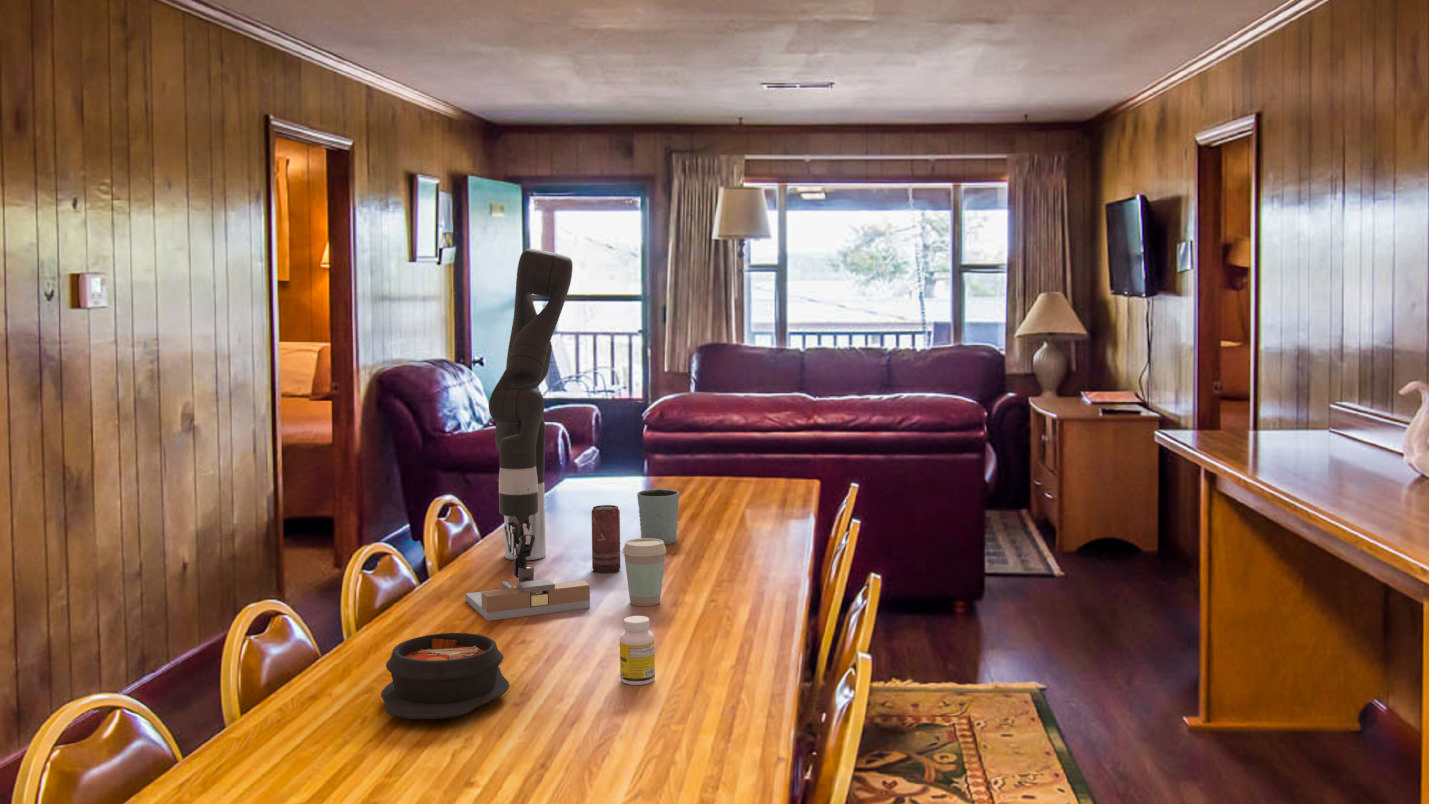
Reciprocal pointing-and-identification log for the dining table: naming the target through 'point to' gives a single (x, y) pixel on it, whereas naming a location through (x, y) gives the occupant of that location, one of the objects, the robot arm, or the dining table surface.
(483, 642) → the casserole
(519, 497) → the robot arm
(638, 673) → the supplement bottle
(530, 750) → the dining table surface
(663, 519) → the grey tapered cup
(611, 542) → the can
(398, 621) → the dining table surface
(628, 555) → the coffee cup
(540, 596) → the bolt
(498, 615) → the door plate
